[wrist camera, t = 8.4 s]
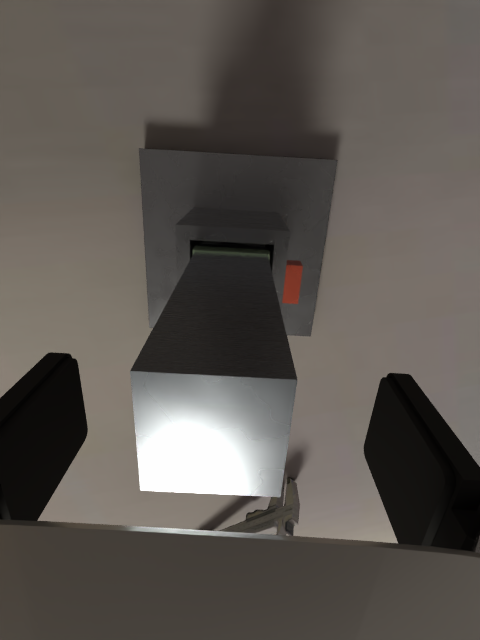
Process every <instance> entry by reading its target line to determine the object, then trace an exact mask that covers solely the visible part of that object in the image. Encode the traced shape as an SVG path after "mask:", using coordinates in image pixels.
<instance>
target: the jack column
mask: <svg viewBox="0 0 480 640" xmlns="http://www.w3.org/2000/svg"><path fill="white" fill-rule="evenodd" d="M269 259H270V252H269V250H266V247H254V246H236V245H218V244H201V243H199V244H198V246H195V247H194V248H193V255H192V257H191V259H190V261H189V263H188V265H187V267H186V268H185V270H184V272H183V274H182V276H181V278H180V280H179V281H178V283H177V285H176V287H175V289H174V291H173V293H172V294H171V296H170V298H169V300H168V302H167V304H166V306H165V307H164V309H163V311H162V313H161V315H160V317H159V319H158V320H157V322H156V324H155V326H154V328H153V330H152V332H151V333H150V335H149V337H148V339H147V341H146V343H145V345H144V346H143V348H142V350H141V352H140V354H139V356H138V358H137V359H136V361H135V363H134V365H133V367H132V369H131V371H130V375H131V386H132V398H133V409H134V421H135V432H136V444H137V455H138V467H139V478H140V490H144V491H165V492H185V493H206V494H226V495H247V496H267V497H281V490H282V483H283V476H284V469H285V462H286V455H287V448H288V441H289V434H290V427H291V420H292V413H293V406H294V399H295V392H296V385H297V376H296V372H295V368H294V364H293V360H292V355H291V351H290V347H289V343H288V338H287V334H286V330H285V326H284V322H283V317H282V313H281V309H280V305H279V300H278V296H277V292H276V288H275V284H274V279H273V275H272V271H271V267H270V262H269Z"/></svg>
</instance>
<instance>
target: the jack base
mask: <svg viewBox="0 0 480 640" xmlns="http://www.w3.org/2000/svg"><path fill="white" fill-rule="evenodd" d="M139 156H140V173H141V191H142V208H143V225H144V243H145V260H146V278H147V295H148V313H149V328H154V326H155V324H156V322H157V320H158V319H159V317H160V315H161V313H162V311H163V309H164V307H165V306H166V304H167V302H168V300H169V298H170V296H171V294H172V293H173V291H174V289H175V287H176V285H177V283H178V281H179V280H180V278H181V276H182V274H183V272H184V270H185V268H186V267H187V265H188V263H189V261H190V259H191V257H192V255H193V248H194V247H195V246H198V244H199V243H201V244H218V245H236V246H254V247H266V250H269V252H270V259H269V262H270V267H271V271H272V275H273V279H274V284H275V288H276V292H277V296H278V300H279V305H280V309H281V313H282V317H283V322H284V326H285V330H286V334H287V335H295V336H311V330H312V324H313V317H314V311H315V304H316V298H317V291H318V284H319V278H320V271H321V265H322V258H323V252H324V245H325V239H326V232H327V225H328V219H329V212H330V206H331V199H332V193H333V186H334V180H335V173H336V166H337V160H328V159H311V158H294V157H277V156H260V155H244V154H227V153H210V152H193V151H176V150H159V149H142V148H139Z"/></svg>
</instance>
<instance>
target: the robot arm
mask: <svg viewBox="0 0 480 640" xmlns="http://www.w3.org/2000/svg"><path fill="white" fill-rule="evenodd" d="M87 431H88V428H87V421H86V414H85V408H84V401H83V395H82V388H81V381H80V375H79V368H78V363H77V360H76V359H72V356H71V355H70V354H67V353H48V354H46V355H45V356H44V357H43V358H42V359H41V360H40V361H39V362H38V363H37V364H36V365H35V366H34V367H33V368H32V369H31V370H30V371H29V372H27V373H26V374H25V375H24V376H23V377H22V378H21V379H20V380H19V381H18V382H17V383H16V384H15V385H14V386H13V387H12V388H11V389H9V390H8V391H7V392H6V393H5V394H4V395H3V396H2V397H1V398H0V640H480V467H479V466H478V464H477V463H476V462H475V460H474V459H473V458H472V456H471V455H470V454H469V452H468V451H467V450H466V448H465V447H464V446H463V444H462V443H461V442H460V440H459V439H458V438H457V436H456V435H455V434H454V432H453V431H452V430H451V428H450V427H449V426H448V424H447V423H446V422H445V420H444V419H443V418H442V416H441V415H440V414H439V412H438V411H437V410H436V408H435V407H434V406H433V404H432V403H431V402H430V400H429V399H428V398H427V396H426V395H425V394H424V392H423V391H422V390H421V388H420V387H419V386H418V384H417V383H416V382H415V380H414V379H413V378H412V376H411V375H409V374H398V373H389V374H388V375H387V377H383V378H382V379H381V381H380V384H379V388H378V392H377V396H376V400H375V404H374V408H373V412H372V416H371V420H370V424H369V428H368V432H367V435H366V439H365V443H364V455H365V458H366V461H367V464H368V466H369V469H370V471H371V474H372V476H373V479H374V482H375V484H376V487H377V489H378V492H379V494H380V497H381V500H382V502H383V505H384V507H385V510H386V512H387V515H388V518H389V520H390V523H391V525H392V528H393V531H394V533H395V536H396V538H397V541H398V543H399V544H397V543H385V542H373V541H360V540H345V539H330V538H315V537H300V536H285V535H271V534H255V533H239V532H223V531H207V530H190V529H174V528H157V527H140V526H122V525H104V524H86V523H68V522H50V521H37V520H38V518H39V517H40V515H41V513H42V512H43V510H44V508H45V507H46V505H47V503H48V502H49V500H50V498H51V497H52V495H53V493H54V491H55V490H56V488H57V486H58V485H59V483H60V481H61V480H62V478H63V476H64V475H65V473H66V471H67V470H68V468H69V466H70V465H71V463H72V461H73V459H74V458H75V456H76V454H77V453H78V451H79V449H80V448H81V446H82V444H83V443H84V441H85V439H86V436H87Z"/></svg>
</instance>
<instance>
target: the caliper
mask: <svg viewBox="0 0 480 640" xmlns="http://www.w3.org/2000/svg"><path fill="white" fill-rule="evenodd" d="M283 499H284V488H283V487H282V490H281V497H271V500H270V503H269V506H268V509H266V510H255V511H254V512H252V513H247V515H246V520H245V521H243V522H240V523H238V524H235V525H233V526H230V527H228V528H225V529H223V530H220V531H223V532H239V533H255V534H274V533H277V534H276V535H285V536H286V534H288V535H289V536H293V528H294V526H295V525H297V524H298V519H299V507H300V503H299V497H298V490H297V484H296V483H295V482H294V481H293V480H292V479H290V478H287V486H286V495H285V504H284V506H283Z"/></svg>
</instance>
